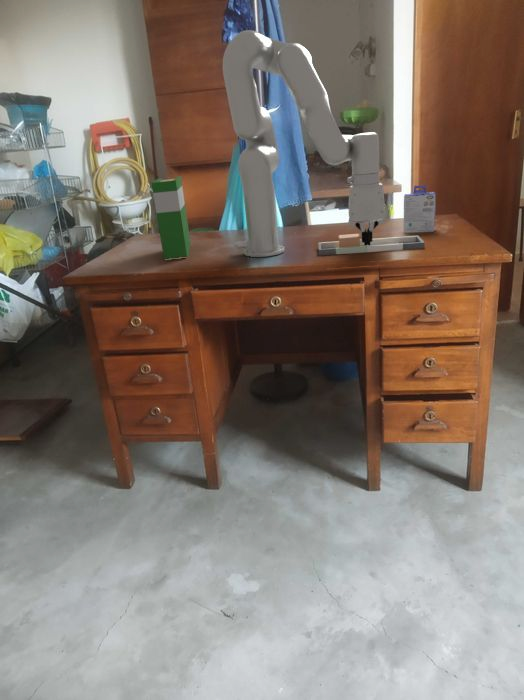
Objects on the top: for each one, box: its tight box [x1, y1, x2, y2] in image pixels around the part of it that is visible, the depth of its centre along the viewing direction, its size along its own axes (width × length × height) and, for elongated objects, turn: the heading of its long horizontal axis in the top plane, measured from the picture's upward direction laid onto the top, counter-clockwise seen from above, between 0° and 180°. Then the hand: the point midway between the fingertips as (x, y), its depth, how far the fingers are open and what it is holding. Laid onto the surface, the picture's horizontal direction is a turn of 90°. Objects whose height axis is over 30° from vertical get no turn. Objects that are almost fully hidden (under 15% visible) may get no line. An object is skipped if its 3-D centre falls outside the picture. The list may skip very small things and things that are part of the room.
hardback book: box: [150, 175, 192, 260], centre depth 169 cm, size 18×7×24 cm, turn 3°
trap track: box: [318, 235, 426, 256], centre depth 153 cm, size 30×10×2 cm, turn 84°
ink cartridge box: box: [403, 184, 437, 234], centre depth 168 cm, size 10×6×14 cm, turn 76°
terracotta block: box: [338, 233, 361, 248], centre depth 153 cm, size 6×5×4 cm
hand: (367, 244), depth 153 cm, fingers closed
